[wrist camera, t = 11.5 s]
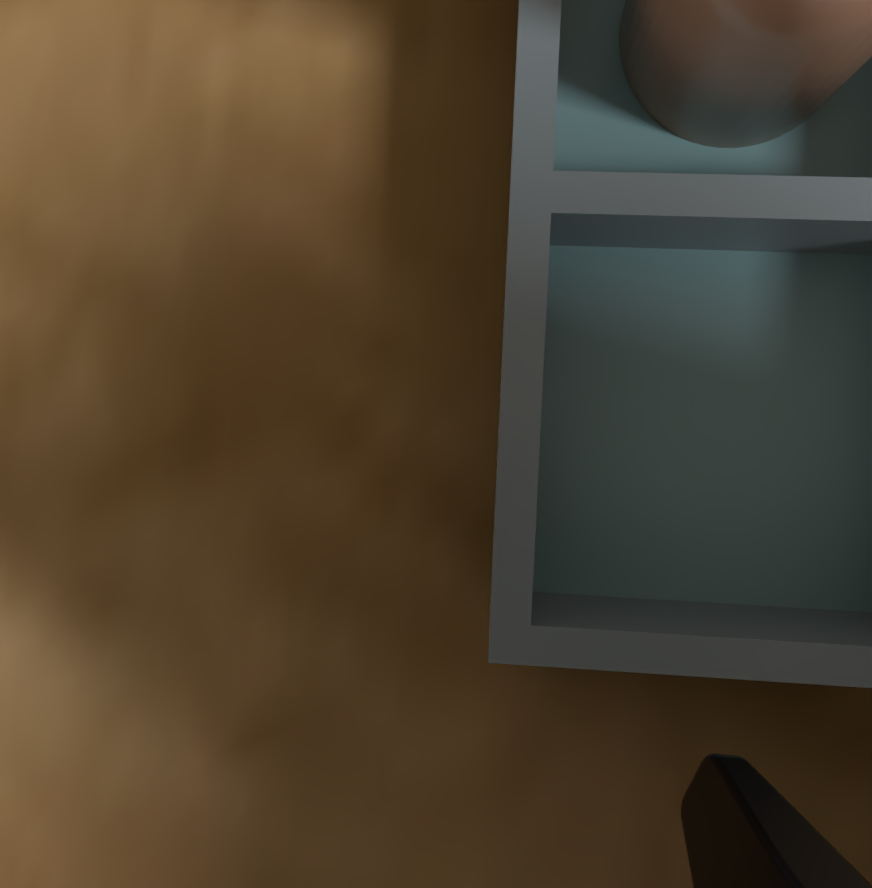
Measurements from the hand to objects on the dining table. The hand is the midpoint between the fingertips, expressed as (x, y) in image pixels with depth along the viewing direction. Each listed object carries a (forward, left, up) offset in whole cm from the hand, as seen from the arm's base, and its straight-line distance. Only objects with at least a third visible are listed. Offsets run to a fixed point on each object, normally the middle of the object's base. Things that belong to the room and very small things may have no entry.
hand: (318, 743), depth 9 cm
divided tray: (-4, -10, -11) cm, 15 cm away
